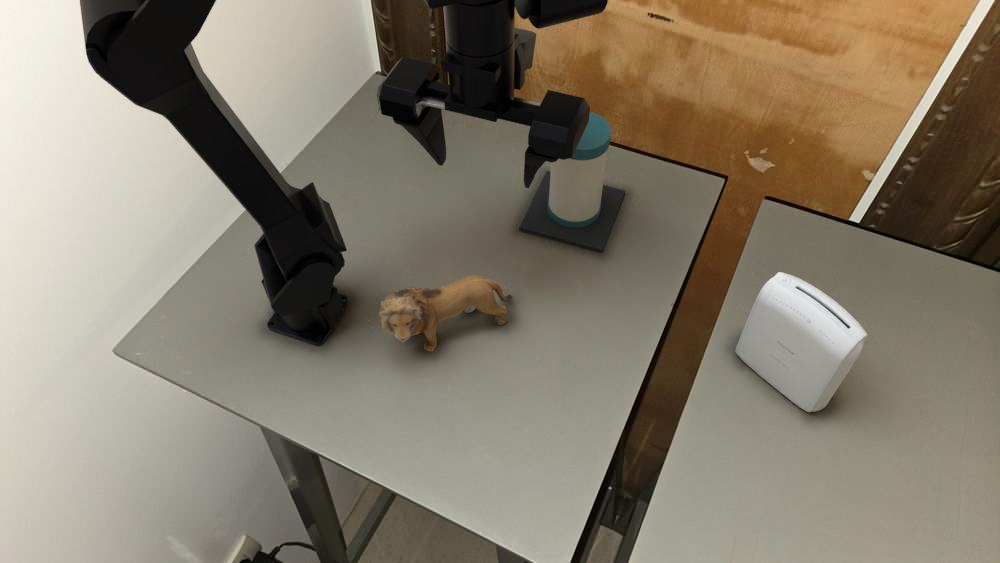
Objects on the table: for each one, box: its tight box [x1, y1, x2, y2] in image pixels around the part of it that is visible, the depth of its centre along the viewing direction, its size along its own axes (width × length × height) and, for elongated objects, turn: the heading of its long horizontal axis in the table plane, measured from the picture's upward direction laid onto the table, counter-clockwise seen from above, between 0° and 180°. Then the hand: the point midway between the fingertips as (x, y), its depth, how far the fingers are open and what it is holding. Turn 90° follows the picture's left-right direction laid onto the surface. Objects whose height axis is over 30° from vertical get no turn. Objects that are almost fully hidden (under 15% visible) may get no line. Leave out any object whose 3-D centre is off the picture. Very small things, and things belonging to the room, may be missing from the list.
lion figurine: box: [378, 274, 513, 353], centre depth 76 cm, size 15×5×9 cm, turn 122°
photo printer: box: [734, 271, 868, 413], centre depth 71 cm, size 10×4×12 cm, turn 39°
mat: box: [518, 170, 626, 254], centre depth 89 cm, size 10×10×1 cm
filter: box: [548, 111, 612, 228], centre depth 84 cm, size 6×6×12 cm
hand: (484, 173), depth 75 cm, fingers open, 9 cm apart
